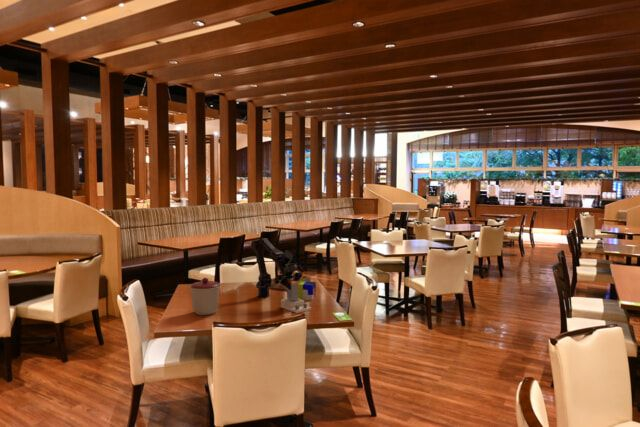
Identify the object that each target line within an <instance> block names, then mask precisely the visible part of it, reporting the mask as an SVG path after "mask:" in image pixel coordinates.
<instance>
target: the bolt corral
mask: <svg viewBox="0 0 640 427" xmlns="http://www.w3.org/2000/svg"><path fill="white" fill-rule="evenodd" d="M275 278H276V277H273V278H271V279H272V283H271V287H269V288H270V289H277V288H279V289H278V290H285V289H286V291H287V287H285V286H284V285H282V284H280V282H279V283H277V284H275V282H274V279H275ZM290 280H291V279H290ZM311 280H312V277H311V276H309V275H302V277H301V280H299V281H298V284H299V283H300V282H301V281H306V282H312V281H311ZM279 281H280V280H279ZM291 281H292V280H291Z"/></svg>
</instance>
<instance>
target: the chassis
mask: <svg viewBox="0 0 640 427" xmlns="http://www.w3.org/2000/svg"><path fill="white" fill-rule="evenodd" d="M280 308H283V309H286V310H288V311H290V312H293V313H296V314H297V313H302V312H307V311H311V310H312V307H311V306H308V303H305V300H304V299H296V300H289V299H287V298H282V299H281V300H280Z"/></svg>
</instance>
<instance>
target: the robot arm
mask: <svg viewBox="0 0 640 427" xmlns="http://www.w3.org/2000/svg"><path fill="white" fill-rule="evenodd" d="M250 246H251V249H252V251H253V252H254V253H255V257H256V261H257V265H258V266H257V267H258V272H259V275H258V278H257V280H258V281H257V283H256V284H255V287H256V289H257V290H258V292H257V293H258V295H257V298H263V299H264V298H265V299H266V298H268V297H270V296H271V295H270V289H269V288H270V287H271V283H272V279H273V278H272V275H271V273H269V272H267V267H266V261H265V257H264V249H265V250H266V251H267V252H268V253H269V255H270V258H271V260H272V261H273V262H275V267H276V268H278V269H279V271H280V272H279V274H277V275H276V278H275V277H274V278H275V279H274V282H275V284H277V283H279V282H280V284H282V285H284V286H285V287H287V288H288V289H289V290H291V287H290V285H289V283H288V281H287V279H292V280H295V281H297V280H299V279H300V278H301V277H302V276H304V275H303V273H302V272H301V271H298V272H296V273H295V274H294V275H293V272H294V271H297V270H298V269H299V268H298V265H297V264H293V265H291V266H288V264H289V263H290V262H291V261H292V259H293V257H294V254H292V253H291V252H290V251H288V250H284V252H283V251H282V250H281V249H278V248H276V247H275V246H274V245H273V244H272V243H271V242H270V241H269V239H268V238H266V237H264V238H263V237H262V238H259V239H254V240H252V241H251V243H250ZM279 280H280V281H279Z"/></svg>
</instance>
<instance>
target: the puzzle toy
mask: <svg viewBox="0 0 640 427" xmlns="http://www.w3.org/2000/svg"><path fill="white" fill-rule="evenodd" d="M316 286H317V284H316V281H311V282H306V281H301V282H300V283H299V284H298V299H301V300H304V301H307V300H309V301H313V300H314V299H315V298H316V294H317V292H316V290H317V289H316V288H317V287H316Z"/></svg>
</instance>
